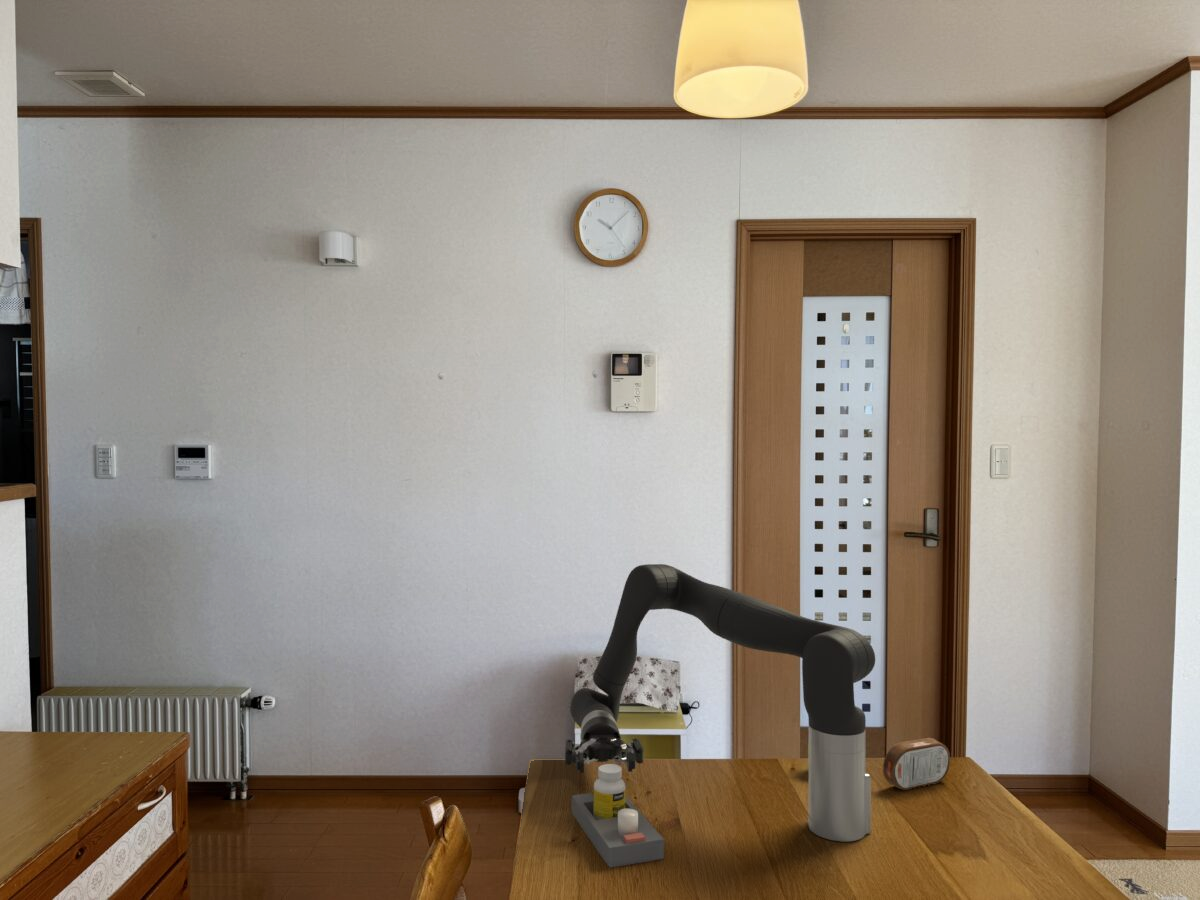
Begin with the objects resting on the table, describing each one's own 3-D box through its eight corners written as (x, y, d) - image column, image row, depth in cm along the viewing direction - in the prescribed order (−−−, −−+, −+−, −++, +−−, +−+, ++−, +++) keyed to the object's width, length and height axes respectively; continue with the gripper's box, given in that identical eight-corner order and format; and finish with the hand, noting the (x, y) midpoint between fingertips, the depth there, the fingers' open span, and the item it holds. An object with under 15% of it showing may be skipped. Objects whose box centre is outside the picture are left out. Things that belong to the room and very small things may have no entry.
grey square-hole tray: (619, 805, 143) (619, 772, 143) (663, 858, 124) (664, 819, 124) (571, 812, 140) (571, 778, 140) (609, 867, 121) (609, 827, 121)
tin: (940, 776, 157) (940, 733, 157) (953, 782, 154) (953, 738, 154) (881, 789, 151) (881, 744, 151) (893, 795, 148) (893, 749, 148)
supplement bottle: (614, 836, 131) (615, 776, 131) (587, 828, 134) (587, 769, 134) (631, 824, 136) (631, 766, 136) (604, 816, 138) (604, 759, 139)
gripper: (563, 716, 155) (566, 746, 139) (636, 715, 156) (646, 744, 140) (563, 754, 155) (565, 789, 139) (636, 753, 156) (646, 787, 140)
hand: (606, 766), depth 140 cm, fingers open, 8 cm apart
